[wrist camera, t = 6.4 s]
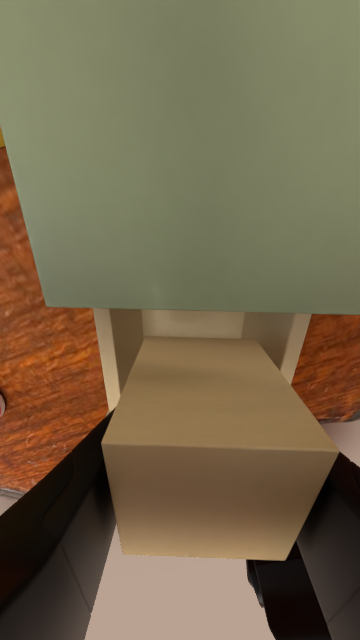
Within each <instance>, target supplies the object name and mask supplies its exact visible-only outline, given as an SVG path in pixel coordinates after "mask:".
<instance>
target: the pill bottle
mask: <svg viewBox="0 0 360 640" xmlns="http://www.w3.org/2000/svg"><path fill="white" fill-rule="evenodd" d="M4 411H5V402H4V399H3V398H2V396H1V395H0V417H1V416H2V415H3V413H4Z"/></svg>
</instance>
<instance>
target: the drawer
mask: <svg viewBox="0 0 360 640" xmlns="http://www.w3.org/2000/svg"><path fill="white" fill-rule="evenodd" d="M93 312H94V318H95V325H96V331H97V337H98V344H99V350H100V356H101V362H102V369H103V375H104V381H105V388H106V394H107V400H108V407H109V410H108V412H107V414H106V416H107V415H108V414H109V413H110V412H111V411H112V410H113V409H114V408H115V407H116V406H117V404H118V401H119V399H120V396H121V394H122V392H123V389H124V387H125V384H126V382H127V379H128V377H129V375H130V372H131V370H132V367H133V365H134V363H135V360H136V358H137V355H138V353H139V351H140V348H141V346H142V343H143V341H144V339H145V336H158V337H194V338H231V339H256V340H257V342H258V343H259V344H260V345H261V347H262V348H263V349H264V351H265V352H266V353H267V355H268V356H269V357H270V359H271V360H272V361H273V363H274V364H275V365H276V367H277V368H278V369H279V371H280V372H281V373H282V375H283V376H284V377H285V379H286V380H287V381H288V383H289V384H290V385H291V382H292V379H293V375H294V372H295V368H296V365H297V362H298V358H299V355H300V352H301V348H302V345H303V342H304V338H305V335H306V332H307V328H308V325H309V322H310V318H311V315H312V314H306V313H267V312H228V311H189V310H150V309H111V308H93Z"/></svg>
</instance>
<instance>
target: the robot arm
mask: <svg viewBox="0 0 360 640" xmlns="http://www.w3.org/2000/svg"><path fill="white" fill-rule="evenodd" d="M115 408H116V407H115ZM115 408H114V409H113V410H112V411H111V412H110V413H109V414H108V415H107V416H106V417H105V418H104V419H103V420H102V421H101V422H100V423H99V424H98V425H97V426H96V427H95V428H94V429H93V430H92V431H91V432H90V433H89V434H88V435H87V436H86V437H85V438H84V439H83V440H82V441H81V442H80V443H79V444H78V445H77V446H76V447H75V448H74V449H73V450H72V452H70V453H69V454H68V455H67V456H66V457H65V458H64V459H63V460H62V461H61V462H60V463H59V464H58V465H57V466H56V467H55V468H53V469H52V470H51V471H50V472H49V473H48V474H47V475H46V476H45V477H44V478H43V479H42V480H41V481H40V482H38V483H37V484H36V485H35V486H34V487H33V488H32V489H31V490H29V491H28V492H27V493H26V494H25V495H24V496H23V497H21V498H20V499H19V500H18V501H17V502H16V503H14V504H13V505H12V506H11V507H10V508H9V509H8V510H7V511H5V512H4V513H3V514H2V515H1V516H0V640H84V639H85V635H86V631H87V628H88V624H89V621H90V617H91V614H90V613H91V612H92V610H93V606H94V602H95V599H96V595H97V591H98V588H99V584H100V581H101V577H102V573H103V570H104V566H105V563H106V559H107V555H108V552H109V548H110V544H111V541H112V537H113V533H114V530H115V526H116V523H117V522H116V517H115V512H114V507H113V502H112V497H111V491H110V486H109V481H108V476H107V471H106V466H105V460H104V455H103V450H102V445H101V442H102V440H103V437H104V435H105V432H106V430H107V428H108V425H109V423H110V420H111V418H112V416H113V413H114V411H115ZM246 564H247V577H248V581H249V583H250V584H251V585H252V587H253V588H254V590H255V593H256V595H257V598H258V601H259V604H260V606H261V607H262V608H263V607H264V608H265V613H266V617H267V621H268V625H269V628H270V630H271V632H272V634H273V636H274V638H275V639H276V640H360V467H358V466H357V465H356V464H355V463H353V462H350V459H348V458H347V457H346V456H345V455H343V454H342V453H341V452H340V451H339V454H338V456H337V458H336V460H335V462H334V464H333V466H332V468H331V470H330V472H329V474H328V476H327V478H326V480H325V482H324V484H323V486H322V488H321V490H320V492H319V494H318V496H317V498H316V500H315V502H314V504H313V506H312V508H311V510H310V512H309V514H308V516H307V518H306V520H305V522H304V524H303V526H302V528H301V530H300V532H299V534H298V536H297V538H296V540H295V542H294V544H293V546H292V548H291V550H290V552H289V554H288V556H287V558H286V560H285V561H279V560H254V559H246Z"/></svg>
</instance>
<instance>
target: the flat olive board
mask: <svg viewBox="0 0 360 640" xmlns="http://www.w3.org/2000/svg"><path fill="white" fill-rule="evenodd" d="M3 146H5V142H4V138H3V134H2V130H1V127H0V148H1V147H3Z"/></svg>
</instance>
